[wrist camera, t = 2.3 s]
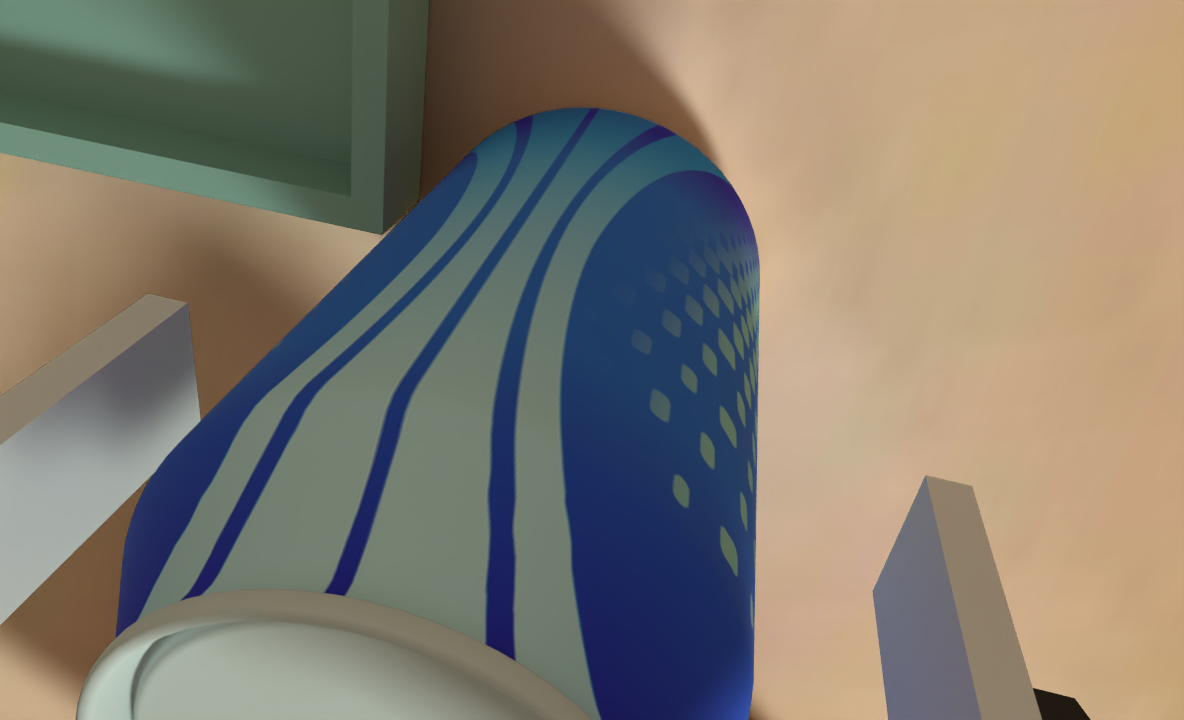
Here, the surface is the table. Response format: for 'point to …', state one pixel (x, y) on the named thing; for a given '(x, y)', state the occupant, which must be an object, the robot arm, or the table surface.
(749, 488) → the beer can
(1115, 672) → the table surface
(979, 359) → the table surface
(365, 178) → the tray
